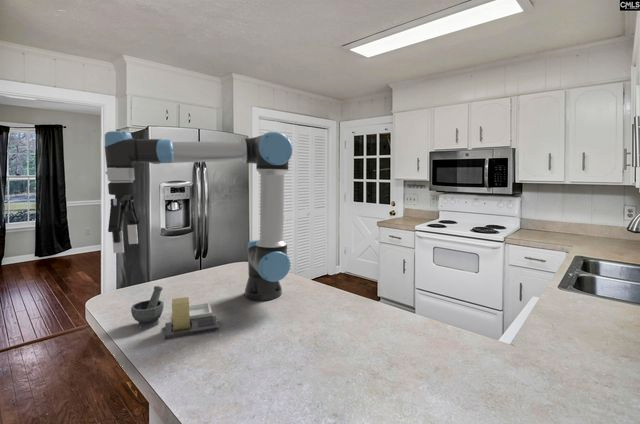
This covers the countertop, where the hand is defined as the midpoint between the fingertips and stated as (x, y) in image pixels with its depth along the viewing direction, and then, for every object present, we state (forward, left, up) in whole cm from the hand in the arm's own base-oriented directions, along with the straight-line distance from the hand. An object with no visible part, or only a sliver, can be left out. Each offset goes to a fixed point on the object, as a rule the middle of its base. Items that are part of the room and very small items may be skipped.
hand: (126, 248), depth 116 cm
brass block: (-15, +9, -27) cm, 32 cm away
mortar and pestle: (-5, -1, -27) cm, 27 cm away
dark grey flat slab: (-18, +9, -27) cm, 33 cm away
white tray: (-20, -2, -27) cm, 33 cm away
